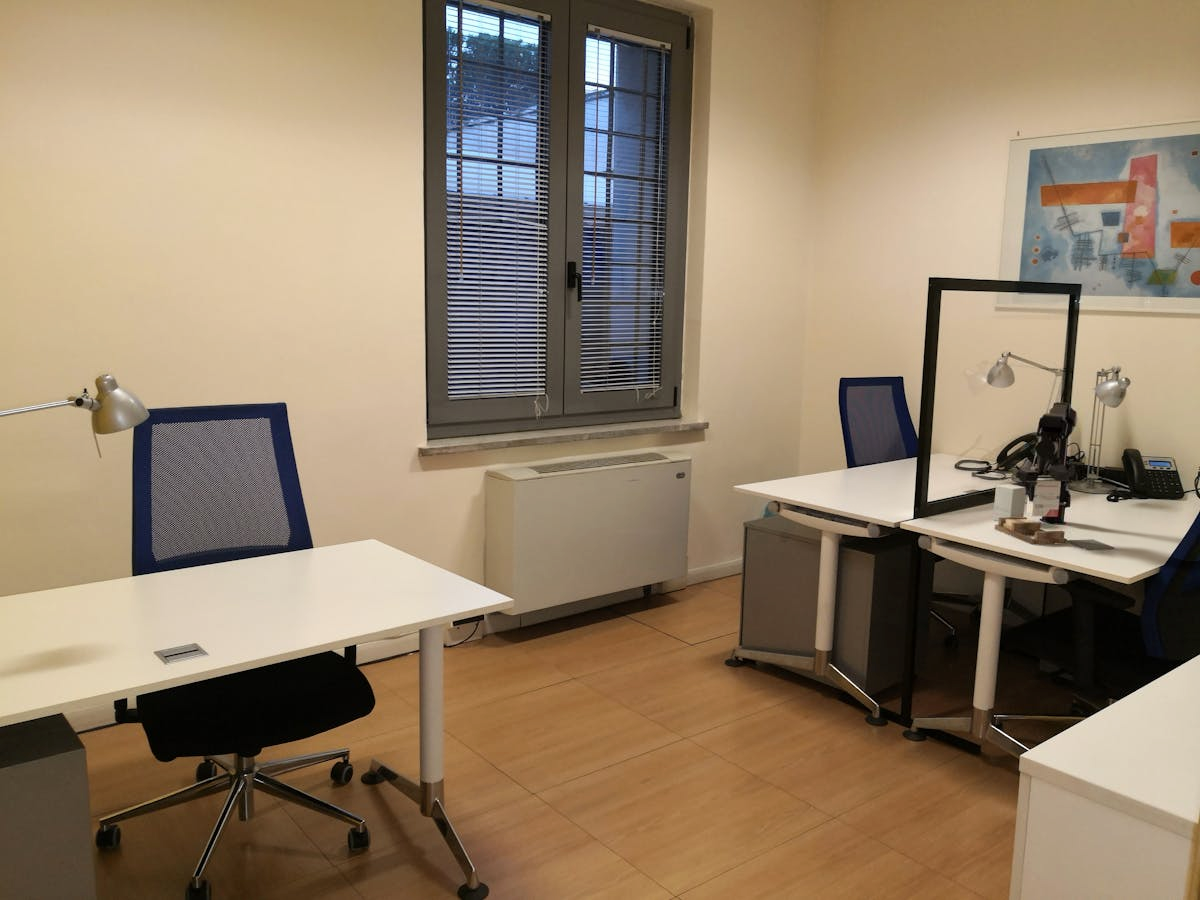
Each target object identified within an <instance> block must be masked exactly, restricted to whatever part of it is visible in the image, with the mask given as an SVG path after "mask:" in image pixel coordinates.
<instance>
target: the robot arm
mask: <svg viewBox="0 0 1200 900" xmlns="http://www.w3.org/2000/svg"><path fill="white" fill-rule="evenodd" d="M1077 421H1078V416H1077V411H1076V410H1075V409H1073V407H1072V406H1071V404H1070V403H1068V402H1061V401H1060V402H1059V401H1058V402H1057V401H1056V402H1054V403H1053V405H1052V408H1050V409H1049V413H1048V412H1047V413H1044V414H1043V415H1042V416H1041V417H1039V421H1038V426H1037V430H1036V431H1037V432H1036V435H1035V436H1036V437H1041V438H1040V441H1039V442H1037V444H1036V446H1035V452H1036V454H1037V455H1036V459H1037V460H1038V463H1037V467H1035V468H1034V470H1031V469H1018V470H1017V471H1016V474H1015V478H1016V479H1018V480H1019V481H1021V483H1022V485H1023V487H1025V489H1026V495H1027V498H1028V497H1029V500H1030V501H1033V499H1034V491H1035V486H1036V484H1037V483H1038V482H1036V480H1037V479H1038V478H1040V479H1054V480H1056V481H1061V487H1060V498H1059V509H1058V516H1057V517H1052V516H1041V518H1039V521H1040V522H1041V521H1042V522H1044V523H1047V524H1050V525H1066V524H1067V521H1065V513H1066V512H1065V511H1066V508H1071V504H1072V501H1071V500H1072V499H1071V497H1072V495H1071V494H1070V490H1068V489H1069V485H1071V484H1073V483H1074V482H1075V481H1078V473H1077V472H1076V471H1075V470H1076V469H1075V465H1073V464H1067V465H1066V459H1067V448H1068V441H1069V437H1070V435H1071V434H1072V433H1073V431H1074V429H1075V428H1076V427H1077Z"/></svg>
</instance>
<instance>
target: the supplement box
mask: <svg viewBox="0 0 1200 900" xmlns="http://www.w3.org/2000/svg"><path fill="white" fill-rule="evenodd" d="M1026 495H1027V492H1026V489H1025V487H1024V486H1020V485H1017V484H1011V483H1006V484H998V485H996V486H995V495H994V504H993V515H992V517H993V518H992V520H993V521H997V522H999V518H1000V517H1025V516H1024V515H1025V506H1026V505H1025V504H1026Z"/></svg>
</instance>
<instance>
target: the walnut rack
mask: <svg viewBox="0 0 1200 900" xmlns="http://www.w3.org/2000/svg"><path fill="white" fill-rule="evenodd" d="M997 522H998V523H997V524H994V530H995V531H999V532H1000V533H1003V532H1004V533H1003V534H1006V535H1007V536H1010V535H1011V537H1014V538H1015V539H1018V540H1020V541H1023V542H1026V543H1028V544H1030V545H1032V544H1039V545H1056V544H1055V543H1058V544H1057V545H1060V544H1059V543H1068V542H1067V540H1068V539H1067V538H1066V537H1065V531H1063V530H1049V531H1048V530H1044V529H1042V528H1041V527H1042V523H1041V521H1032V520H1030V519H1028V517H1025V516H1023V517H1000V518H999V521H997ZM1030 536H1034V537H1030Z"/></svg>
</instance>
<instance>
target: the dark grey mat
mask: <svg viewBox="0 0 1200 900" xmlns="http://www.w3.org/2000/svg"><path fill="white" fill-rule="evenodd" d="M1069 542H1070V543H1069ZM1067 543H1069V544H1071V543H1072V545H1074V544H1075V545H1074V546H1076V545H1077V546H1076V547H1079V548H1082V549H1084V548H1085V549H1084V550H1087V551H1091V550H1115V548H1116V547H1114V546H1112V545H1110V544H1106V543H1105V542H1104V543H1103V542H1101V541H1098V540H1096V539H1092V538H1091V539H1067Z"/></svg>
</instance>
